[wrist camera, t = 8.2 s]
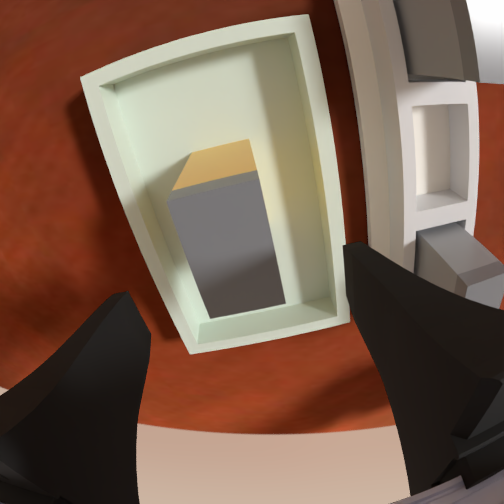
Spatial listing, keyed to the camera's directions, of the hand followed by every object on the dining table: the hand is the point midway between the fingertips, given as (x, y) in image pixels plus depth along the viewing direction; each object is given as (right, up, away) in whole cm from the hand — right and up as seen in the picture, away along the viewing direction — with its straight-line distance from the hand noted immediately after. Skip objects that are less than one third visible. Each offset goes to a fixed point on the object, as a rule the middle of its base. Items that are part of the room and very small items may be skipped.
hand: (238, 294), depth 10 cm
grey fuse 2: (+12, +1, +9) cm, 15 cm away
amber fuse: (-1, +5, +7) cm, 8 cm away
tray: (-1, +4, +8) cm, 9 cm away
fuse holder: (+10, +8, +6) cm, 14 cm away
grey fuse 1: (+9, +13, +2) cm, 16 cm away
